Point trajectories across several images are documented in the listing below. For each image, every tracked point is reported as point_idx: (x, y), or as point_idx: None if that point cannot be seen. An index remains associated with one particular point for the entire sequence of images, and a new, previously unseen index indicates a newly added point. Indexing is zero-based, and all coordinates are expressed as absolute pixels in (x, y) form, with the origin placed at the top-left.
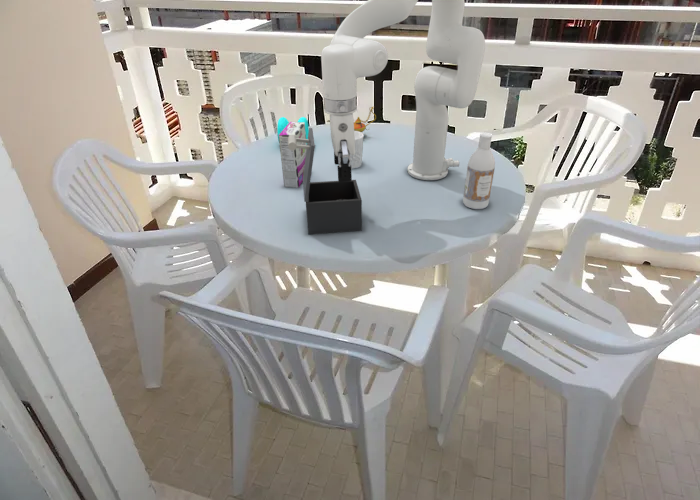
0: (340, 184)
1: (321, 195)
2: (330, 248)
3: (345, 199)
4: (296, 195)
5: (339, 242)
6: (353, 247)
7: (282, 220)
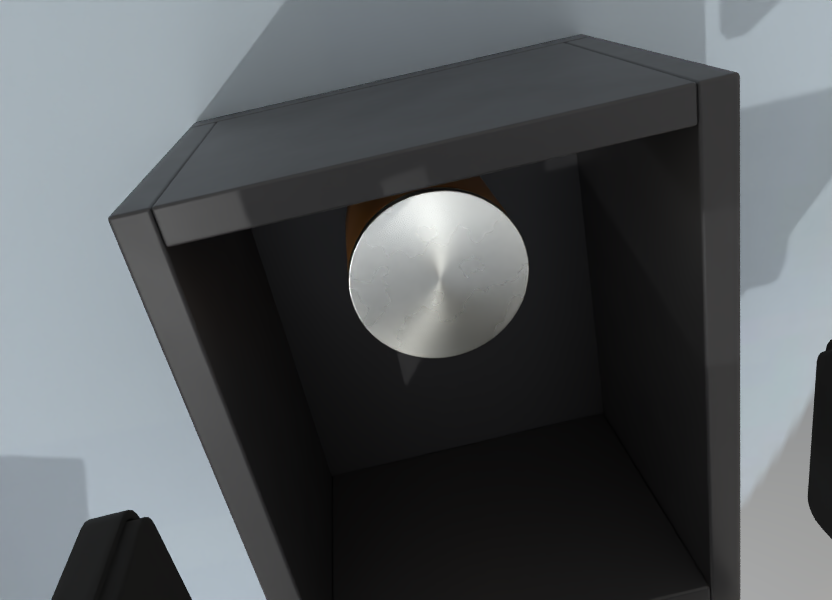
0: (228, 380)
1: (300, 478)
2: (802, 247)
3: (353, 257)
4: None
5: None
6: (818, 82)
7: None
